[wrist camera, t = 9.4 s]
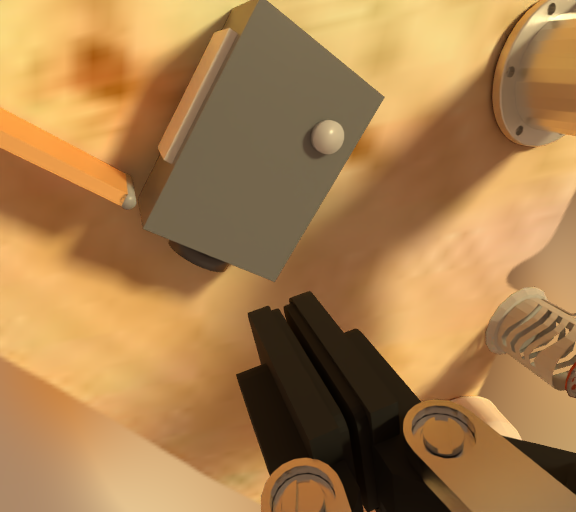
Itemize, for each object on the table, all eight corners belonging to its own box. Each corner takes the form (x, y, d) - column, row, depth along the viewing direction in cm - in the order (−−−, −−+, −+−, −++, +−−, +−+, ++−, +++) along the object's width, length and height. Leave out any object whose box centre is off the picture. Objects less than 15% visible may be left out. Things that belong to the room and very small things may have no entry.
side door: (-113, 77, 21) (-168, 81, 17) (-102, 52, 21) (-155, 50, 17) (125, 196, 28) (126, 220, 24) (135, 177, 28) (139, 198, 24)
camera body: (225, 3, 26) (256, -13, 20) (340, 91, 31) (389, 97, 25) (123, 211, 29) (125, 247, 23) (243, 261, 34) (269, 300, 28)
